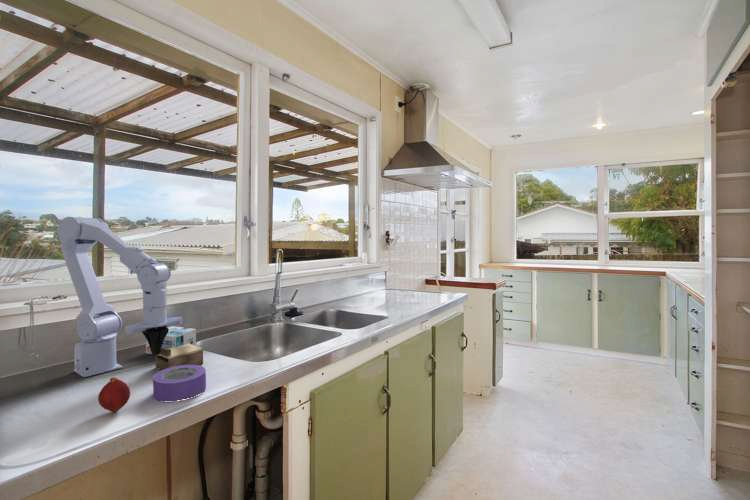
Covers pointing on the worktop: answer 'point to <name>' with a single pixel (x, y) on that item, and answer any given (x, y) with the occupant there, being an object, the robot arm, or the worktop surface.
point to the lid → (179, 351)
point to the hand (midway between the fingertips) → (155, 353)
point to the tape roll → (179, 382)
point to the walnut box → (179, 360)
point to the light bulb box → (177, 338)
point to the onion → (114, 395)
